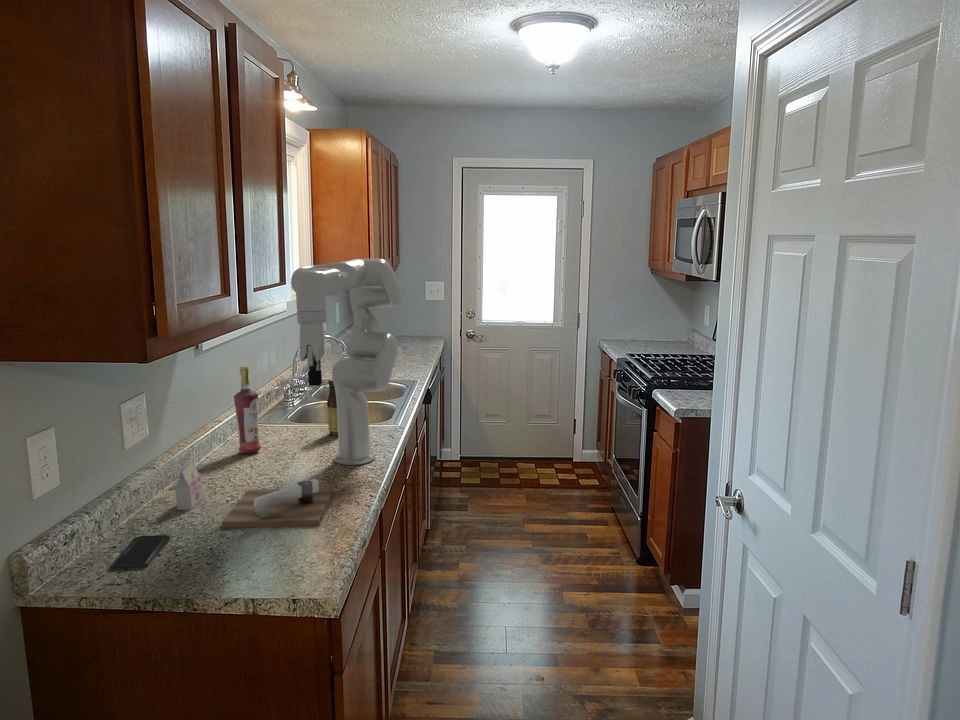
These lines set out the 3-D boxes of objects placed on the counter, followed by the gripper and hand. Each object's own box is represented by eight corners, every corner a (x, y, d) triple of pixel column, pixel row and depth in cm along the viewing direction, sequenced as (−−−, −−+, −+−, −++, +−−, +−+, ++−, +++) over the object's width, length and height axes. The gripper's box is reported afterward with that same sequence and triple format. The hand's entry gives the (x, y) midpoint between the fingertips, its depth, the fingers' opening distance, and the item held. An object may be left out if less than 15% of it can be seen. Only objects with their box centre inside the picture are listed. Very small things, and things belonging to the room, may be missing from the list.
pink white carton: (177, 509, 174) (173, 472, 172) (189, 499, 180) (186, 463, 179) (191, 509, 174) (188, 472, 172) (203, 499, 180) (200, 463, 178)
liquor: (251, 456, 215) (245, 370, 210) (233, 454, 218) (226, 368, 213) (266, 450, 222) (261, 365, 217) (248, 447, 224) (242, 364, 219)
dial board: (248, 494, 183) (247, 488, 183) (334, 493, 184) (334, 487, 184) (222, 527, 163) (221, 521, 162) (319, 525, 163) (318, 518, 163)
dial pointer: (313, 494, 178) (312, 478, 177) (321, 498, 176) (320, 481, 175) (252, 515, 165) (251, 497, 164) (260, 519, 163) (259, 501, 162)
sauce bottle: (339, 430, 244) (336, 376, 240) (350, 433, 240) (348, 378, 236) (324, 434, 239) (321, 379, 235) (336, 437, 235) (333, 381, 231)
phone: (171, 534, 157) (146, 565, 143) (171, 539, 158) (147, 570, 143) (135, 536, 157) (107, 567, 142) (136, 540, 157) (108, 572, 142)
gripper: (303, 314, 187) (307, 379, 190) (290, 320, 172) (295, 391, 176) (331, 313, 187) (334, 379, 191) (320, 320, 173) (324, 391, 176)
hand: (315, 384), depth 183 cm, fingers closed
